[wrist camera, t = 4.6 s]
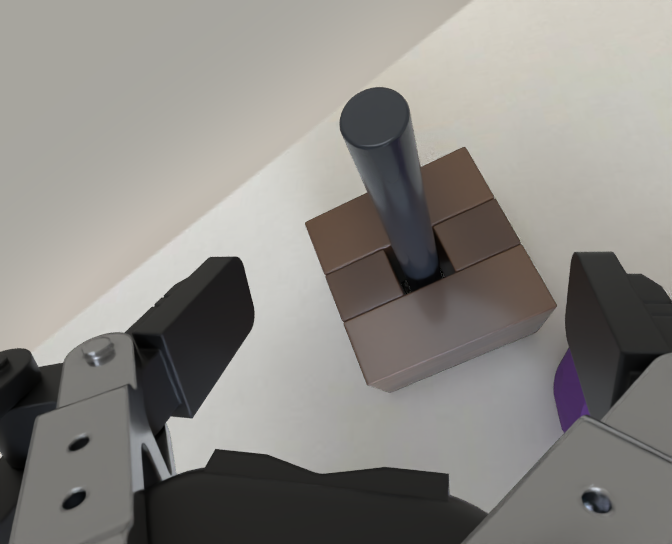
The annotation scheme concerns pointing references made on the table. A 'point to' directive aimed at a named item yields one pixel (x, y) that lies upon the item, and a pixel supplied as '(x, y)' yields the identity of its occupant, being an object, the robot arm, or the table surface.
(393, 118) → the stylus
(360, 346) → the pen stand
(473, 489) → the table surface
